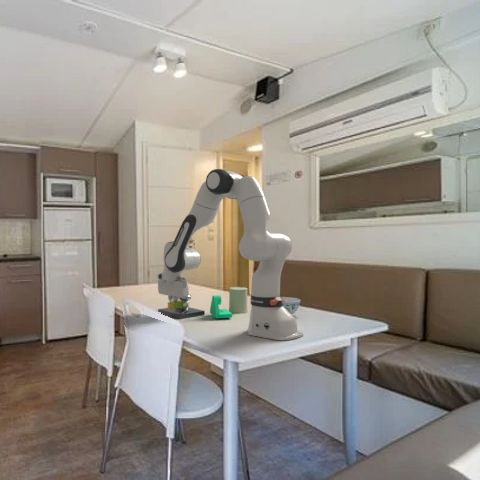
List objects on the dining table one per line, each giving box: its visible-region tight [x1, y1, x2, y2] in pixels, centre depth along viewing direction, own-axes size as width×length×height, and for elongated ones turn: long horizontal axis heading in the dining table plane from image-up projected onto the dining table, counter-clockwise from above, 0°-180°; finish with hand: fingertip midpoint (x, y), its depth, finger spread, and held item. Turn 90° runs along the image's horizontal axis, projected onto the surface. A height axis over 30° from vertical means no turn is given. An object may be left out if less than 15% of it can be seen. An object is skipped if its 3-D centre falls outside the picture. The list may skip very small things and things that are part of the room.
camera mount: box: [209, 294, 233, 320], centre depth 190 cm, size 12×8×10 cm, turn 18°
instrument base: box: [157, 298, 206, 320], centre depth 196 cm, size 18×14×8 cm
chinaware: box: [281, 296, 301, 315], centre depth 194 cm, size 15×15×8 cm
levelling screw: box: [167, 294, 192, 311], centre depth 192 cm, size 12×6×7 cm, turn 134°
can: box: [228, 286, 248, 314], centre depth 204 cm, size 9×9×12 cm
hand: (173, 305), depth 192 cm, fingers closed
